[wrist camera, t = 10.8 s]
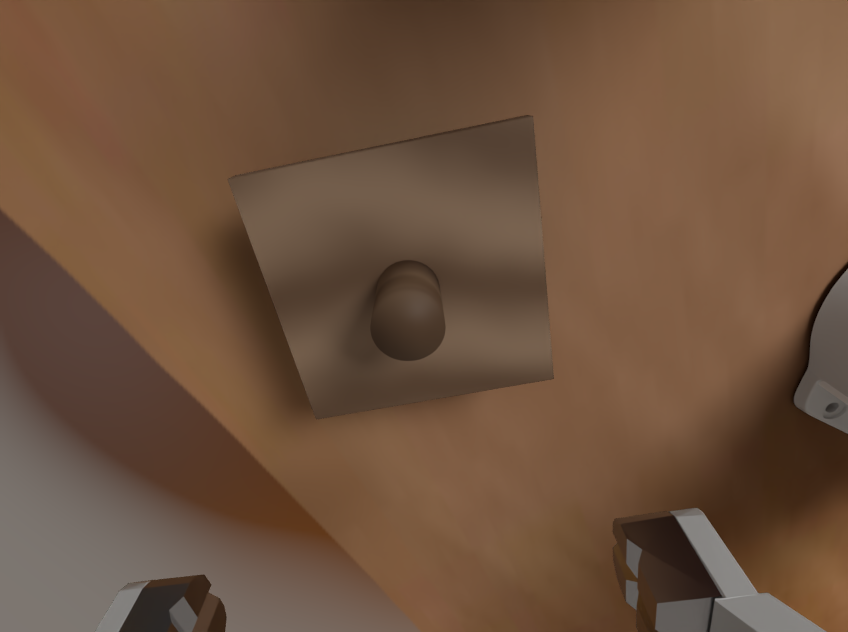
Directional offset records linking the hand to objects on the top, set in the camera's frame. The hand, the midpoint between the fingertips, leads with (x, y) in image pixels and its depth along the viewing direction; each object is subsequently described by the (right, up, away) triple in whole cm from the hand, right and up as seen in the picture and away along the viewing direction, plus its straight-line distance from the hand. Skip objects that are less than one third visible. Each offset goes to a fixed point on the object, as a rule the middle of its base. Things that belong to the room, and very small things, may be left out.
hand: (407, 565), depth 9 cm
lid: (0, +7, +14) cm, 15 cm away
